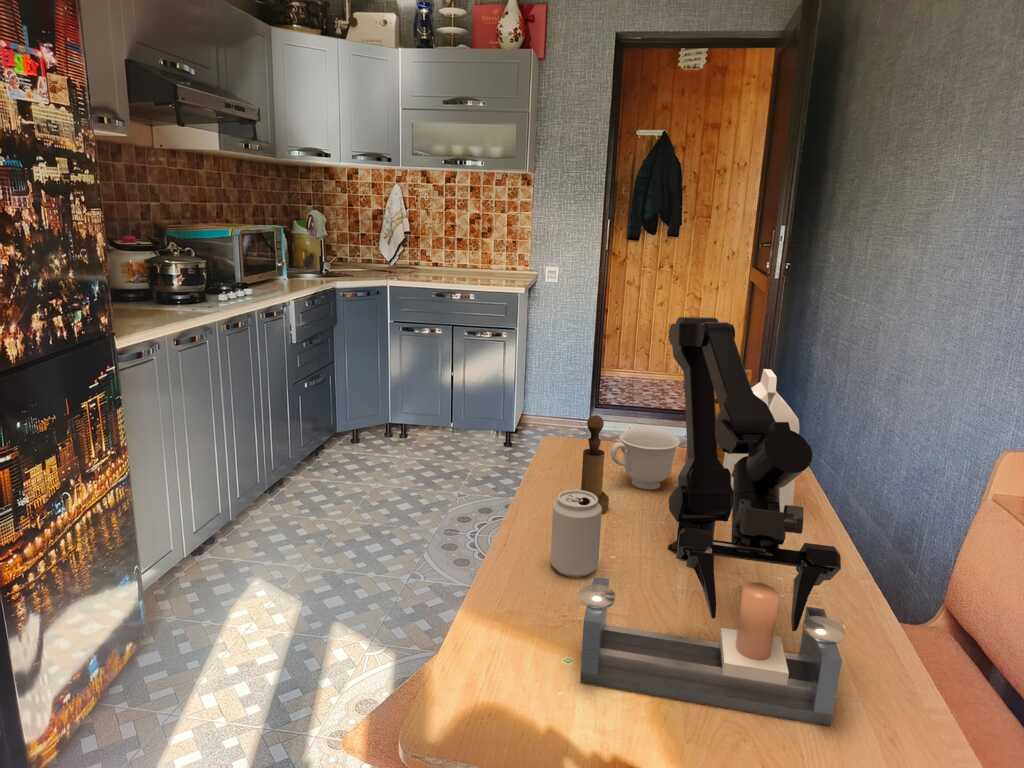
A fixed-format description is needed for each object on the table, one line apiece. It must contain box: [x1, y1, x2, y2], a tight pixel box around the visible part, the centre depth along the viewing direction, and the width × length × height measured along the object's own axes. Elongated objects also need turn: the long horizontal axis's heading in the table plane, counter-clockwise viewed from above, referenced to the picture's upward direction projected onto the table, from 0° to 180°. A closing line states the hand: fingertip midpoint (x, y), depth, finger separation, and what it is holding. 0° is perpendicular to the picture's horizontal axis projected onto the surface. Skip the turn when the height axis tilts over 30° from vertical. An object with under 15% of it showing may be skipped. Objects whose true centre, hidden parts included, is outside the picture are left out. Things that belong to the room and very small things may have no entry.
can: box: [550, 489, 602, 578], centre depth 108 cm, size 8×8×12 cm
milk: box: [723, 368, 800, 516], centre depth 131 cm, size 12×12×26 cm
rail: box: [578, 576, 846, 727], centre depth 84 cm, size 30×10×9 cm, turn 77°
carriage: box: [719, 581, 789, 685], centre depth 82 cm, size 7×7×9 cm
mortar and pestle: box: [579, 414, 610, 515], centre depth 128 cm, size 7×6×18 cm
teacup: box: [609, 427, 681, 490], centre depth 140 cm, size 12×15×10 cm
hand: (753, 624), depth 83 cm, fingers open, 9 cm apart
